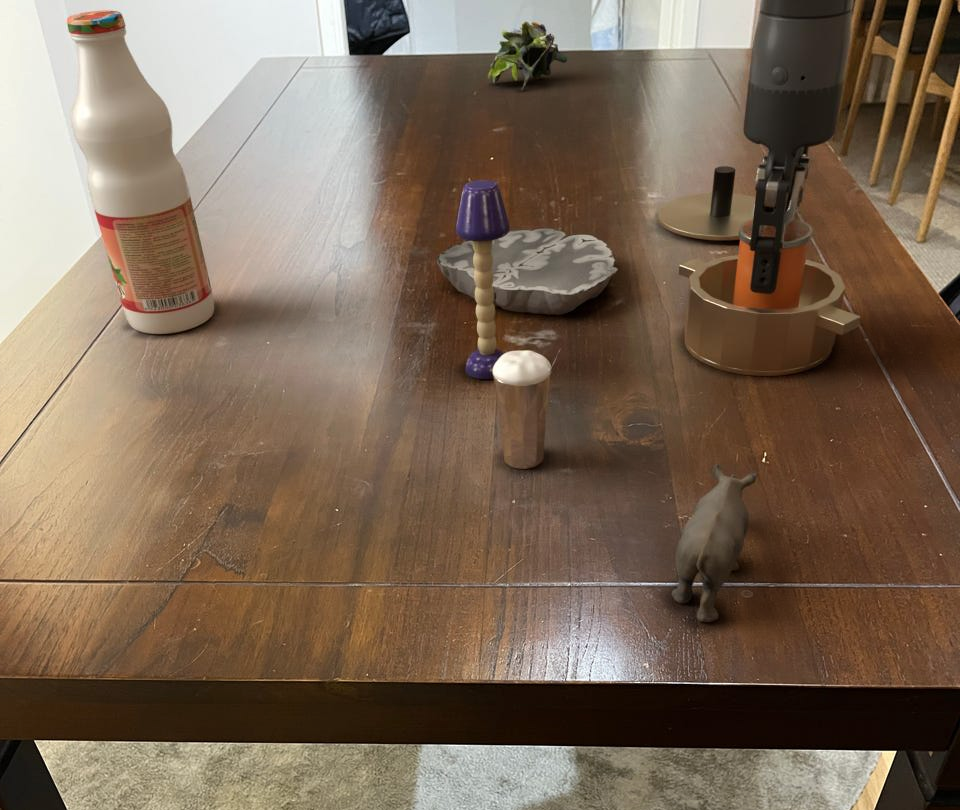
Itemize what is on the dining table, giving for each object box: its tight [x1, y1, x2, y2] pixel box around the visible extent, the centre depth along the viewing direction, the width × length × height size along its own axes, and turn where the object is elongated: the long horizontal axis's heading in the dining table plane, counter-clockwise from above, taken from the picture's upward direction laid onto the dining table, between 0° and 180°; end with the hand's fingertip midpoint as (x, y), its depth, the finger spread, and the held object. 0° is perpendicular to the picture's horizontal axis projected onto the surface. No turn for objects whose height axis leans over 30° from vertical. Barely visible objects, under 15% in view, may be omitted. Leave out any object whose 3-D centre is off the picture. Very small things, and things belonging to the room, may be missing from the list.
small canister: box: [733, 218, 814, 309], centre depth 93 cm, size 6×6×9 cm
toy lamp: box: [455, 179, 510, 380], centre depth 90 cm, size 5×5×17 cm
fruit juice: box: [66, 9, 215, 335], centre depth 99 cm, size 9×9×28 cm
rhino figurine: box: [671, 463, 757, 623], centre depth 70 cm, size 4×14×6 cm, turn 158°
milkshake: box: [493, 348, 562, 470], centre depth 80 cm, size 4×5×10 cm
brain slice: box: [436, 227, 618, 316], centre depth 109 cm, size 20×17×3 cm
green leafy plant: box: [487, 21, 568, 92], centre depth 172 cm, size 11×11×12 cm
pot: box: [678, 254, 861, 377], centre depth 95 cm, size 14×19×6 cm
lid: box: [657, 165, 756, 241], centre depth 119 cm, size 15×15×6 cm
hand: (769, 276), depth 93 cm, fingers closed on small canister, 6 cm apart
